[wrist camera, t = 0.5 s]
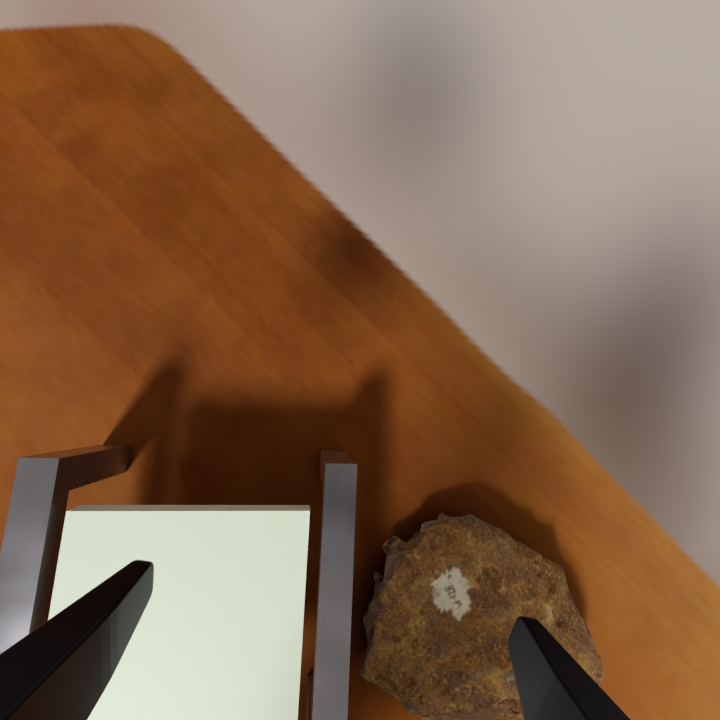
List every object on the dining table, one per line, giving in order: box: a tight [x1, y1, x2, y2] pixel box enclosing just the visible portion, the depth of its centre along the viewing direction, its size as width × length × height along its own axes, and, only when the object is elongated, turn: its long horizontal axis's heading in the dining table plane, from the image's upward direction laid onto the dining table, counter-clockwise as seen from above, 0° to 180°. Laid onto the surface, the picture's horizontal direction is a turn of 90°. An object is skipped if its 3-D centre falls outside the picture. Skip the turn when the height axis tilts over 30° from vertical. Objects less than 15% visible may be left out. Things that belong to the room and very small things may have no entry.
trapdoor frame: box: [0, 445, 357, 720], centre depth 17 cm, size 14×14×6 cm
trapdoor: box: [48, 505, 310, 720], centre depth 15 cm, size 10×10×1 cm
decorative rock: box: [359, 512, 604, 720], centre depth 20 cm, size 11×4×15 cm
